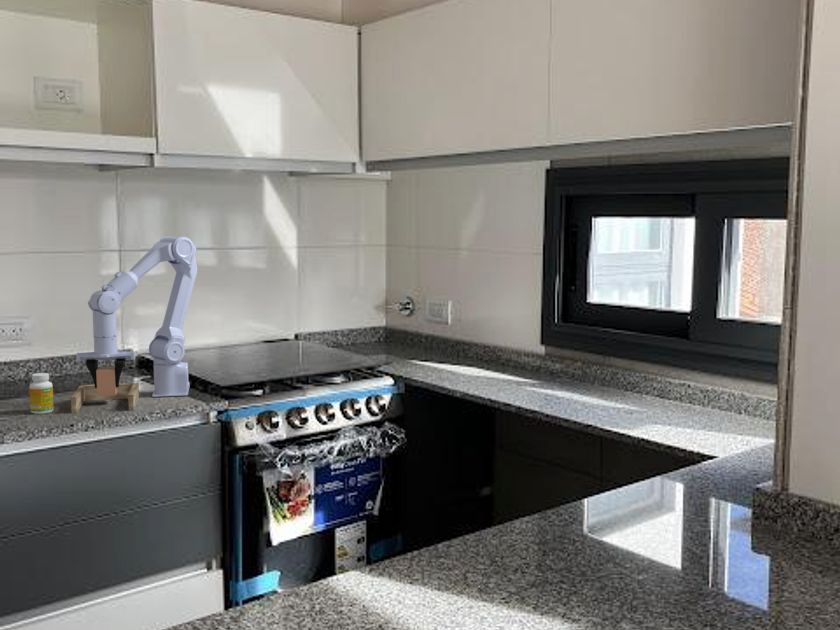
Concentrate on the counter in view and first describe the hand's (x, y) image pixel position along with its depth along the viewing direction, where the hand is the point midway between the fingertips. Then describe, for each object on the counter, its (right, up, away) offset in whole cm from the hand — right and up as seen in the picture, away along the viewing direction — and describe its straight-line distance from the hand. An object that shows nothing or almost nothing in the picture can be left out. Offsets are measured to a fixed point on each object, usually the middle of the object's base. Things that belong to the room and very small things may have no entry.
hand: (107, 387), depth 231 cm
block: (0, -2, 0) cm, 2 cm away
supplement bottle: (-13, -6, -10) cm, 17 cm away
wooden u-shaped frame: (0, -5, -1) cm, 5 cm away
